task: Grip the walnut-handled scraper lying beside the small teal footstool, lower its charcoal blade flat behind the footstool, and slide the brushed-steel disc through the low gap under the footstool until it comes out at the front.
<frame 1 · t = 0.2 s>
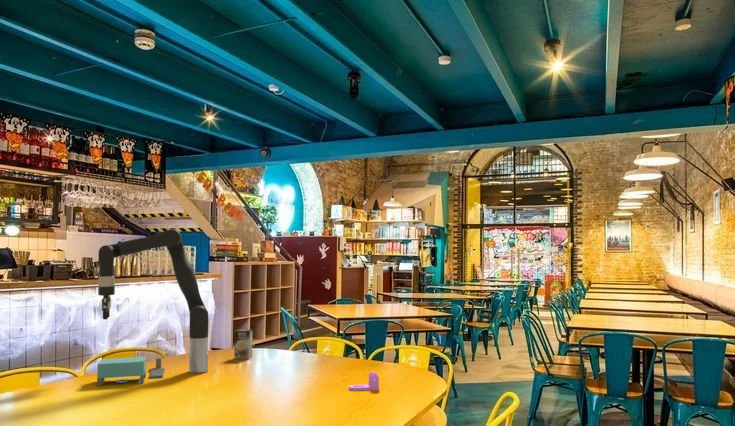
hand: (106, 318, 294), 29 cm above the table, fingers open, 8 cm apart
scraper tool: (157, 374, 299), on the table
teal footstool: (122, 381, 282), on the table
bracket: (363, 389, 264), on the table
coffee box: (243, 358, 340), on the table
steel token: (122, 382, 281), on the table
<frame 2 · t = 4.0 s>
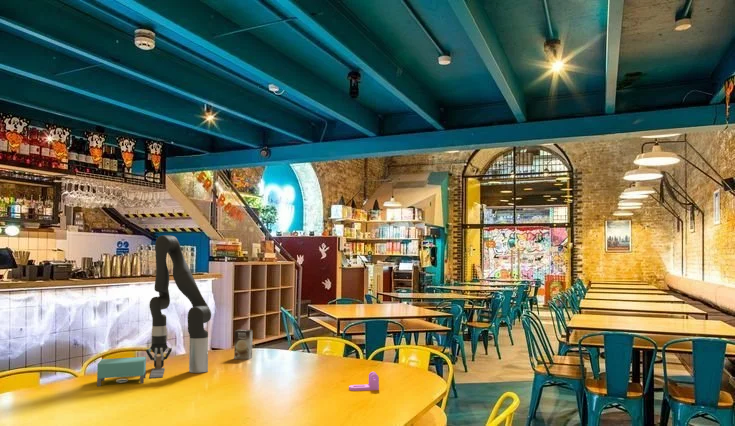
hand: (158, 367, 312), 1 cm above the table, fingers closed on scraper tool
scraper tool: (157, 374, 299), on the table, touching gripper
everything else where it was.
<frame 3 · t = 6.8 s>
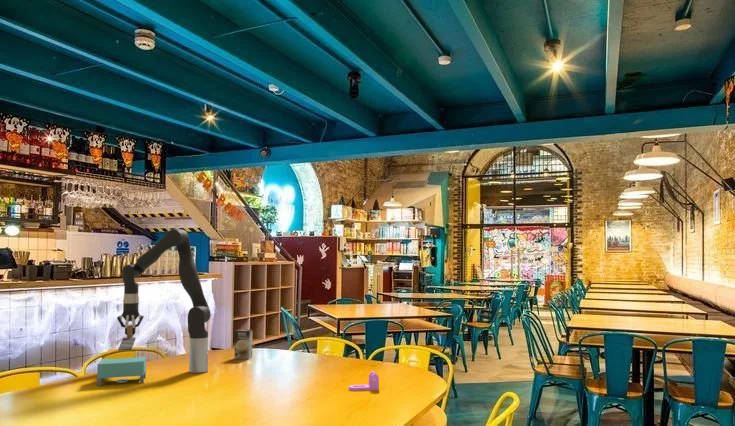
hand: (130, 334, 314), 18 cm above the table, fingers closed on scraper tool, 2 cm apart
scraper tool: (127, 344, 301), point 14 cm above the table, tilted 7°, touching gripper
everything else where it was.
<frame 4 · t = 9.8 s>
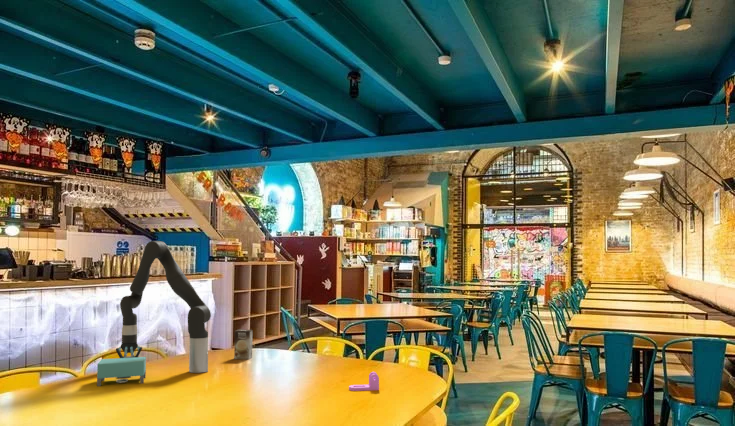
hand: (128, 366, 313), 1 cm above the table, fingers closed on scraper tool, 2 cm apart
scraper tool: (126, 373, 299), on the table, touching gripper
everything else where it was.
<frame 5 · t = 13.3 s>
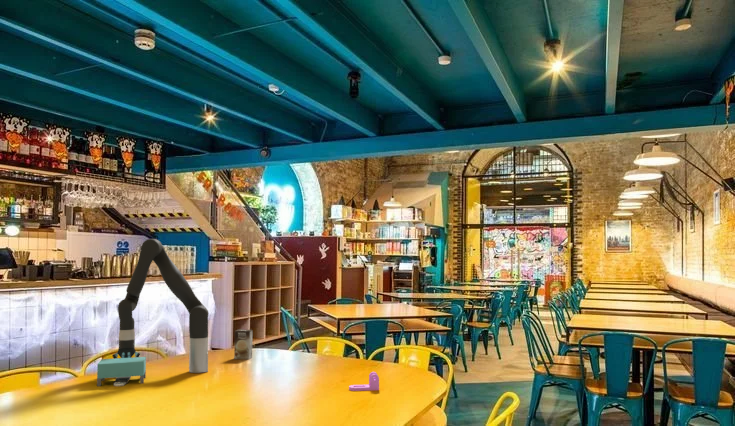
hand: (126, 373, 299), 1 cm above the table, fingers closed on scraper tool
scraper tool: (123, 379, 287), on the table, touching gripper, steel token
steel token: (119, 385, 275), on the table, touching scraper tool
everything else where it was.
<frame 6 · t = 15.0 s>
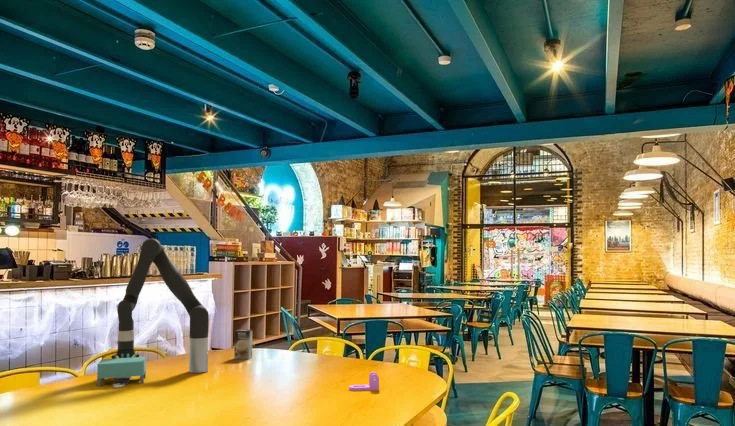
hand: (125, 374, 295), 1 cm above the table, fingers closed on scraper tool
scraper tool: (122, 381, 284), on the table, touching gripper
steel token: (118, 387, 272), on the table
everything else where it was.
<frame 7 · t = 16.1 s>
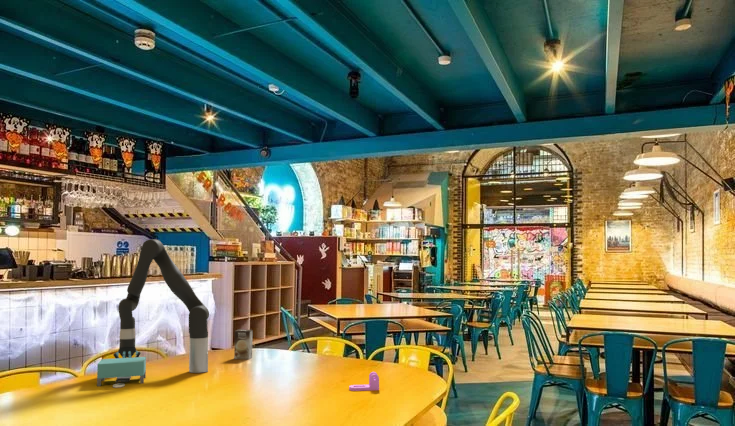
hand: (126, 371, 302), 1 cm above the table, fingers closed on scraper tool, 2 cm apart
scraper tool: (124, 377, 290), on the table, touching gripper
everything else where it was.
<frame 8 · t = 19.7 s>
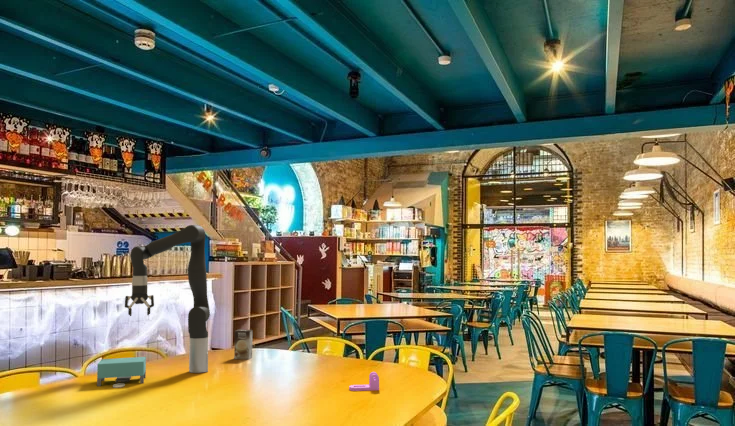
hand: (139, 315, 311), 28 cm above the table, fingers open, 8 cm apart
scraper tool: (124, 377, 291), on the table
everything else where it was.
at the end: steel token inside the target area (7.6 cm from its centre), on the table; steel token moved 10.2 cm from its start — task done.
